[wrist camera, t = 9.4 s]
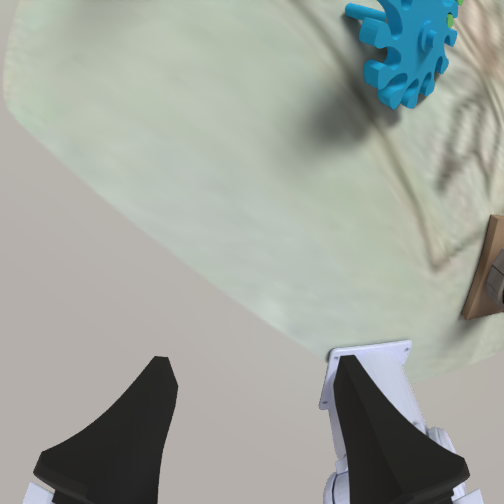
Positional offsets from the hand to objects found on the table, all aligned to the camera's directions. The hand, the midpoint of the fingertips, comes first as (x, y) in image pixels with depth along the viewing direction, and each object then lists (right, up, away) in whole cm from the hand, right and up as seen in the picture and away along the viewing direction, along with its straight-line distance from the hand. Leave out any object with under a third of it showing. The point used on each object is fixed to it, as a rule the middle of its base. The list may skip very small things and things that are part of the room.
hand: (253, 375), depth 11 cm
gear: (+9, +19, +1) cm, 21 cm away
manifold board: (+27, +4, +8) cm, 29 cm away
